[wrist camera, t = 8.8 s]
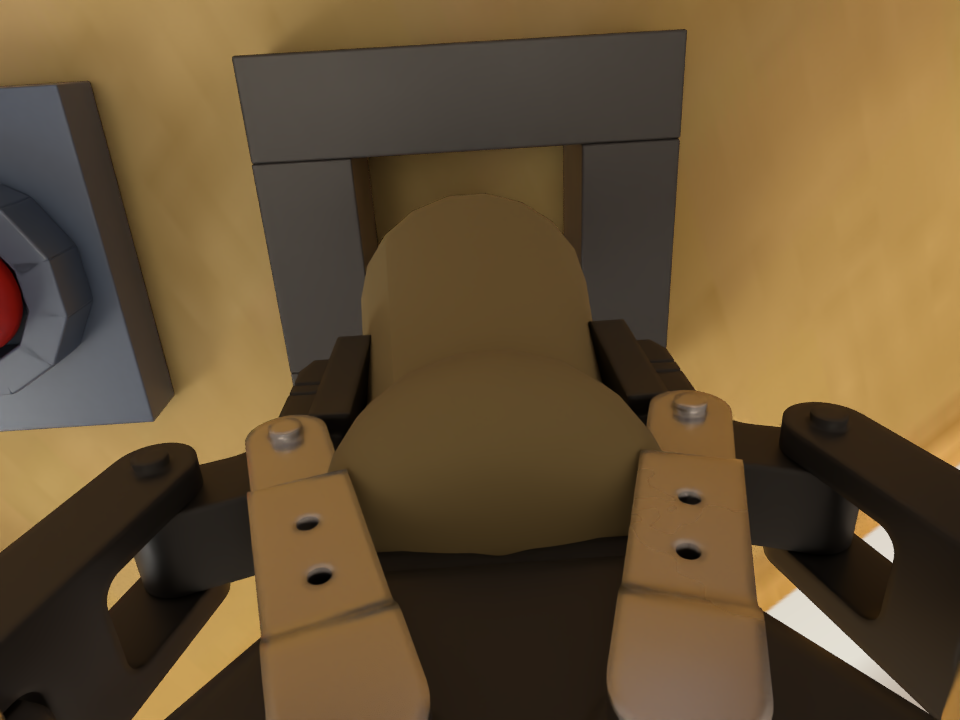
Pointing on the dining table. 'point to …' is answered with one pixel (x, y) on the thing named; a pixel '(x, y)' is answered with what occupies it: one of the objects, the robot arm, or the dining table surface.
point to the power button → (9, 305)
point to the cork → (486, 390)
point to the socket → (456, 128)
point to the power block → (71, 271)
